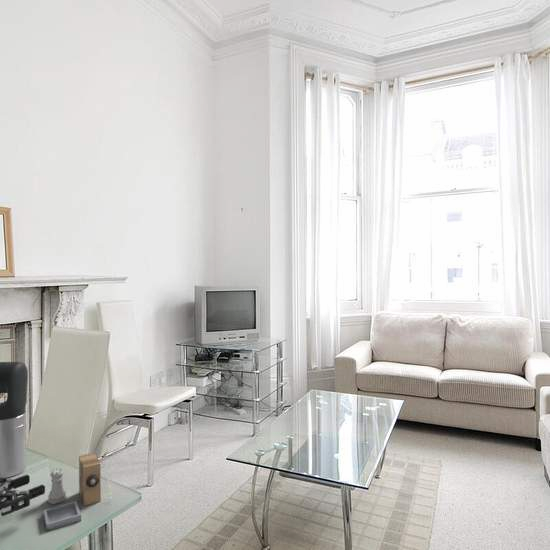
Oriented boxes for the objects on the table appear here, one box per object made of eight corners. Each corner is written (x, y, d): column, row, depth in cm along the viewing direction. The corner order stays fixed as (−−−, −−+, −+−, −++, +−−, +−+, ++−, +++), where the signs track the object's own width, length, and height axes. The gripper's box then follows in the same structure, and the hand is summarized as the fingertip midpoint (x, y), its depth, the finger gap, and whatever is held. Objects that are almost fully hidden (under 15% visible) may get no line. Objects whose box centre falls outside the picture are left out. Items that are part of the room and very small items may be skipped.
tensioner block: (79, 492, 117) (78, 456, 117) (94, 488, 119) (94, 452, 119) (84, 507, 109) (84, 468, 109) (101, 502, 111) (101, 464, 111)
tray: (43, 515, 106) (43, 509, 106) (76, 506, 110) (76, 501, 110) (46, 531, 99) (46, 524, 99) (81, 520, 103) (81, 514, 103)
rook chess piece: (70, 499, 113) (69, 469, 113) (53, 506, 110) (53, 475, 110) (60, 494, 116) (60, 464, 116) (44, 501, 112) (44, 471, 112)
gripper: (-28, 506, 91) (49, 477, 104) (-51, 486, 100) (23, 461, 113) (-27, 541, 91) (50, 507, 104) (-50, 518, 100) (24, 489, 113)
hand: (36, 483), depth 109 cm, fingers open, 8 cm apart
